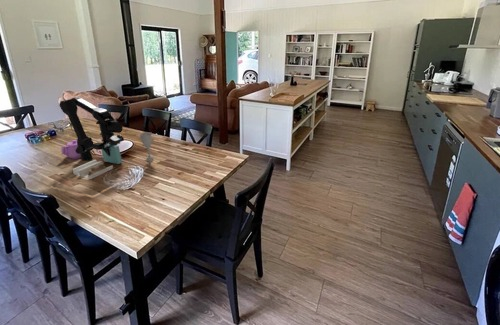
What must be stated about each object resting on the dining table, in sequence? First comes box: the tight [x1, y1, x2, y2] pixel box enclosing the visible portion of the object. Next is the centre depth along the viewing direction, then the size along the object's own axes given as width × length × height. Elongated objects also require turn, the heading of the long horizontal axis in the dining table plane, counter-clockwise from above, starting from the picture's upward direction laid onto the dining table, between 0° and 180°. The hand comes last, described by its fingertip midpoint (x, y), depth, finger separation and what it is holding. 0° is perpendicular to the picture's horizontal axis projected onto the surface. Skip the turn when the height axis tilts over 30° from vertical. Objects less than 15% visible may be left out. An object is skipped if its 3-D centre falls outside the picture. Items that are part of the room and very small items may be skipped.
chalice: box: [139, 131, 155, 163], centre depth 174 cm, size 7×7×18 cm
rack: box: [72, 159, 114, 180], centre depth 159 cm, size 14×15×4 cm
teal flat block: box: [101, 144, 123, 165], centre depth 169 cm, size 3×12×11 cm, turn 67°
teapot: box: [60, 136, 91, 160], centre depth 184 cm, size 13×20×11 cm, turn 151°
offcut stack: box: [88, 164, 108, 176], centre depth 158 cm, size 5×10×4 cm, turn 157°
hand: (111, 155), depth 170 cm, fingers closed on teal flat block, 3 cm apart
